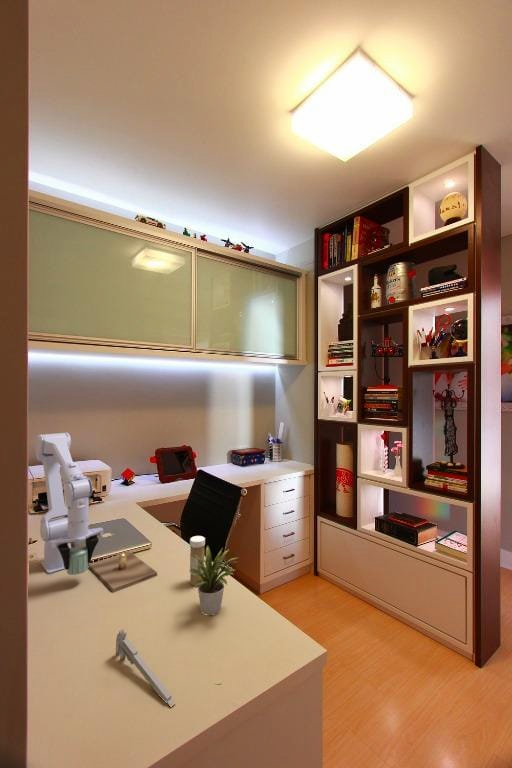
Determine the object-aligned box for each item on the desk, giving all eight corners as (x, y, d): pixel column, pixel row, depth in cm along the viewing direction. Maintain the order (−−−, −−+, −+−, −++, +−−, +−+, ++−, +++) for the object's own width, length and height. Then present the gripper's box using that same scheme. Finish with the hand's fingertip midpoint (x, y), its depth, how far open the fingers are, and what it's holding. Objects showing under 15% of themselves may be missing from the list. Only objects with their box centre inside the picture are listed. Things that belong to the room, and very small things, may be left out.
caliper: (115, 656, 81) (115, 628, 81) (120, 654, 82) (120, 625, 82) (170, 709, 68) (171, 675, 68) (175, 706, 68) (175, 672, 69)
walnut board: (88, 567, 120) (88, 564, 120) (129, 554, 130) (129, 551, 130) (113, 592, 106) (113, 588, 106) (157, 575, 115) (157, 572, 115)
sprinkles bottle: (207, 583, 111) (207, 539, 111) (193, 588, 108) (193, 542, 108) (200, 577, 115) (201, 534, 115) (187, 581, 112) (187, 537, 112)
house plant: (221, 636, 87) (221, 568, 87) (172, 622, 92) (173, 557, 93) (245, 603, 100) (245, 544, 101) (201, 593, 106) (201, 536, 106)
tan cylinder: (117, 568, 118) (117, 553, 118) (124, 565, 120) (124, 551, 120) (120, 570, 116) (120, 555, 116) (127, 568, 118) (127, 553, 118)
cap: (64, 569, 111) (64, 549, 111) (84, 563, 114) (84, 544, 114) (70, 576, 106) (70, 556, 107) (90, 570, 110) (90, 550, 110)
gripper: (55, 529, 103) (54, 578, 103) (107, 517, 113) (106, 561, 113) (48, 522, 108) (48, 568, 108) (98, 511, 118) (98, 553, 118)
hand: (77, 564), depth 110 cm, fingers closed on cap, 6 cm apart
